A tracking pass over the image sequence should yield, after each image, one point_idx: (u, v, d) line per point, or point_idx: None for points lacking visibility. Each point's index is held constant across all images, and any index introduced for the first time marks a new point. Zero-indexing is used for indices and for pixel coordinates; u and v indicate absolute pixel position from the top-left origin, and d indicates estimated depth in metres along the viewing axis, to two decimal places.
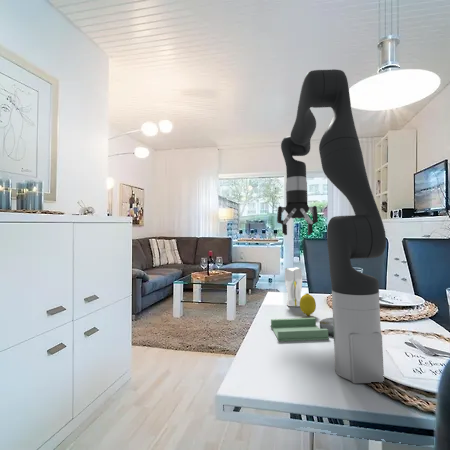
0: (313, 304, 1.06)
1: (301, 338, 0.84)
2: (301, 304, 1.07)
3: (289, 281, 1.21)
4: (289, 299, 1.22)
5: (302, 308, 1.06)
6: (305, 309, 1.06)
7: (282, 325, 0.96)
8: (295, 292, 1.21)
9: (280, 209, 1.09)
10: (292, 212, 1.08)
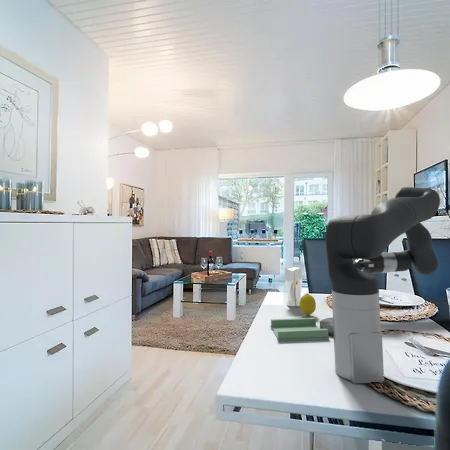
0: (313, 304, 1.06)
1: (301, 338, 0.84)
2: (301, 304, 1.07)
3: (289, 281, 1.21)
4: (289, 299, 1.22)
5: (302, 308, 1.06)
6: (305, 309, 1.06)
7: (282, 325, 0.96)
8: (295, 292, 1.21)
9: None
10: None
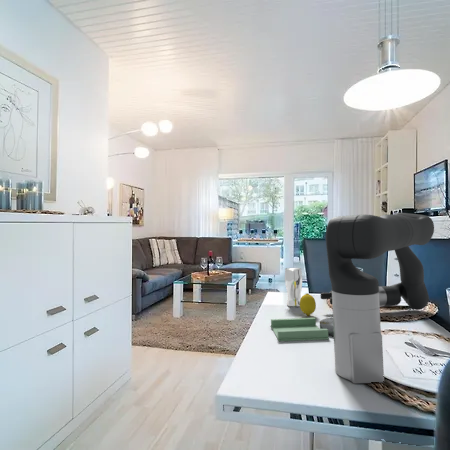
0: (313, 304, 1.06)
1: (301, 338, 0.84)
2: (301, 304, 1.07)
3: (289, 281, 1.21)
4: (289, 299, 1.22)
5: (302, 308, 1.06)
6: (305, 309, 1.06)
7: (282, 325, 0.96)
8: (295, 292, 1.21)
9: None
10: None
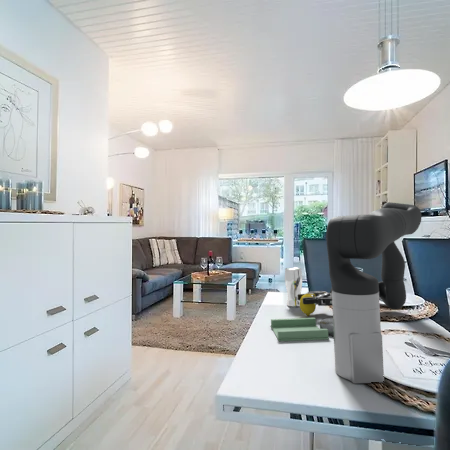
0: (313, 304, 1.06)
1: (301, 338, 0.84)
2: (301, 304, 1.07)
3: (289, 281, 1.21)
4: (289, 299, 1.22)
5: (302, 308, 1.06)
6: (305, 309, 1.06)
7: (282, 325, 0.96)
8: (295, 292, 1.21)
9: (319, 291, 1.14)
10: (321, 292, 1.10)
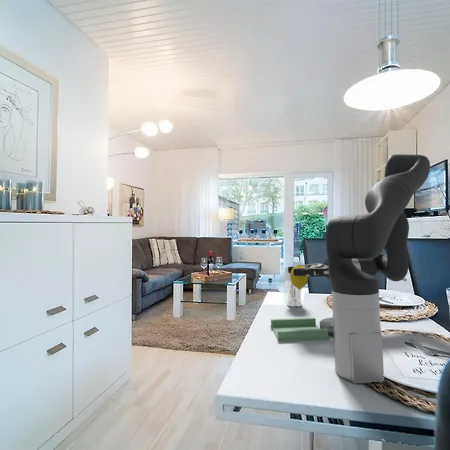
0: (305, 276, 0.95)
1: (301, 338, 0.84)
2: (291, 277, 0.96)
3: (289, 281, 1.21)
4: (289, 299, 1.22)
5: (293, 281, 0.96)
6: (296, 281, 0.95)
7: (282, 325, 0.96)
8: (295, 292, 1.21)
9: None
10: None
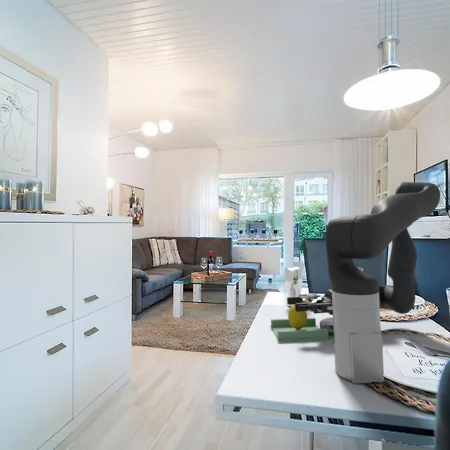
0: (304, 317, 0.89)
1: (301, 338, 0.84)
2: (289, 317, 0.90)
3: (289, 281, 1.21)
4: None
5: (291, 321, 0.90)
6: (294, 323, 0.89)
7: (282, 325, 0.96)
8: (295, 292, 1.21)
9: (313, 294, 0.98)
10: (314, 295, 0.93)
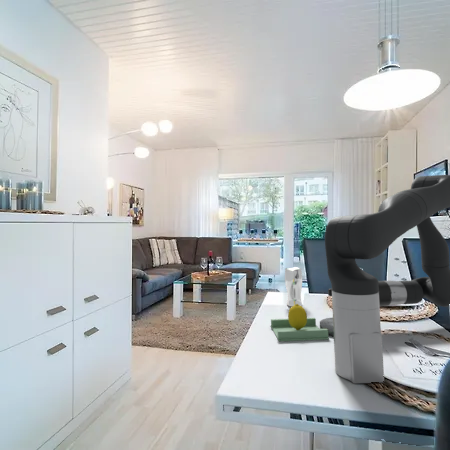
0: (304, 317, 0.89)
1: (301, 338, 0.84)
2: (289, 317, 0.90)
3: (289, 281, 1.21)
4: (289, 299, 1.22)
5: (291, 322, 0.90)
6: (294, 323, 0.89)
7: (282, 325, 0.96)
8: (295, 292, 1.21)
9: None
10: None
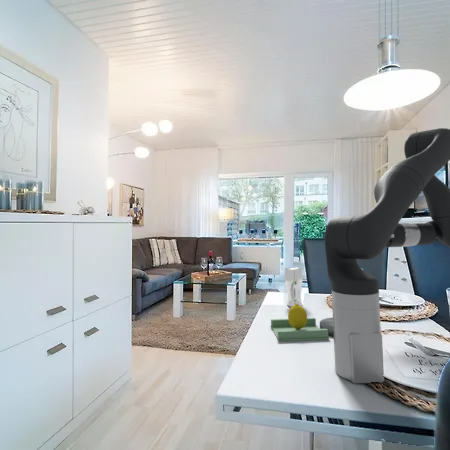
0: (304, 317, 0.89)
1: (301, 338, 0.84)
2: (289, 317, 0.90)
3: (289, 281, 1.21)
4: (289, 299, 1.22)
5: (291, 322, 0.90)
6: (294, 323, 0.89)
7: (282, 325, 0.96)
8: (295, 292, 1.21)
9: None
10: None
